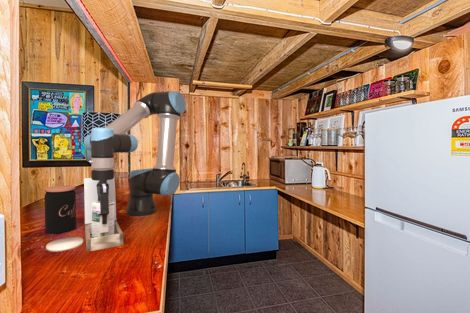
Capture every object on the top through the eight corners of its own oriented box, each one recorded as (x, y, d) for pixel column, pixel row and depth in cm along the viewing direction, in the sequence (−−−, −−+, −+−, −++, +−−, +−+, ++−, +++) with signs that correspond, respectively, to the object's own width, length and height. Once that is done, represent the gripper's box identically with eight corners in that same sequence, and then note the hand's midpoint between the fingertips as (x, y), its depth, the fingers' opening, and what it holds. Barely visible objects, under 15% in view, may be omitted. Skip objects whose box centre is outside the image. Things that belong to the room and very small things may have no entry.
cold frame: (116, 229, 106) (116, 220, 106) (123, 244, 91) (123, 234, 91) (85, 234, 100) (84, 224, 100) (86, 251, 85) (86, 240, 85)
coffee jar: (60, 235, 99) (59, 190, 98) (38, 233, 101) (37, 188, 100) (82, 227, 109) (81, 186, 108) (61, 225, 111) (60, 184, 110)
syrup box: (90, 241, 94) (90, 202, 93) (104, 235, 99) (103, 199, 99) (102, 243, 92) (102, 204, 91) (115, 237, 97) (115, 201, 97)
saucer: (82, 237, 98) (82, 235, 98) (83, 247, 88) (83, 245, 88) (47, 242, 92) (47, 240, 92) (44, 254, 82) (44, 251, 82)
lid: (116, 219, 106) (115, 219, 107) (114, 176, 109) (114, 177, 111) (84, 224, 100) (84, 224, 101) (84, 178, 103) (84, 178, 104)
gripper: (89, 166, 101) (90, 222, 102) (92, 172, 84) (93, 239, 85) (110, 166, 105) (110, 220, 106) (117, 171, 88) (117, 235, 89)
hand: (103, 228), depth 95 cm, fingers closed on syrup box, 8 cm apart
